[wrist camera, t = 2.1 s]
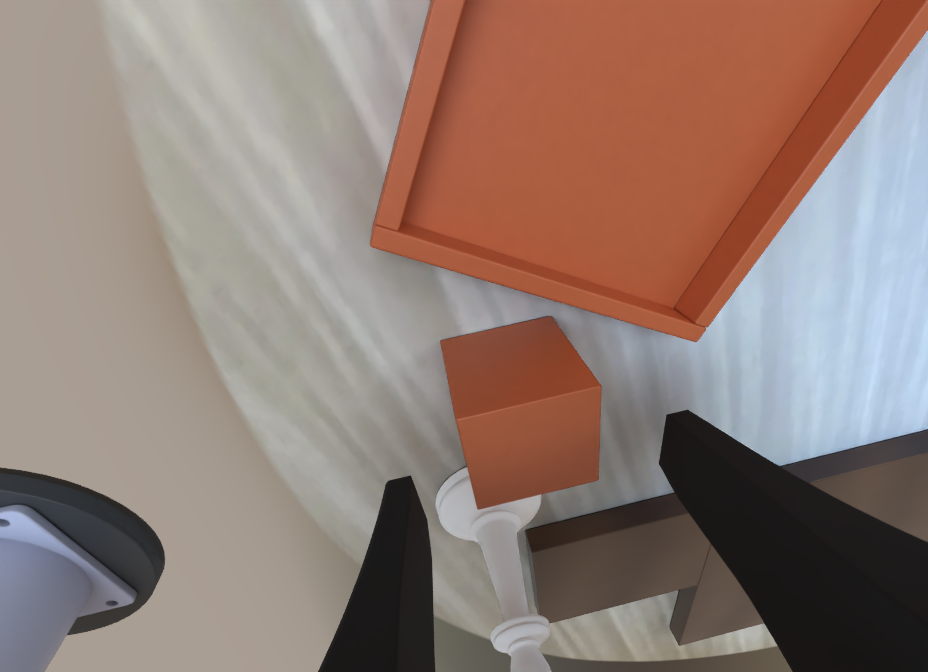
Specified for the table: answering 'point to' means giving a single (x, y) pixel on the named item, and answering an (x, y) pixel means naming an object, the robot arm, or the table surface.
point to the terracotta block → (523, 411)
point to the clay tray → (627, 141)
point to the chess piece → (499, 565)
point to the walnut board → (707, 543)
